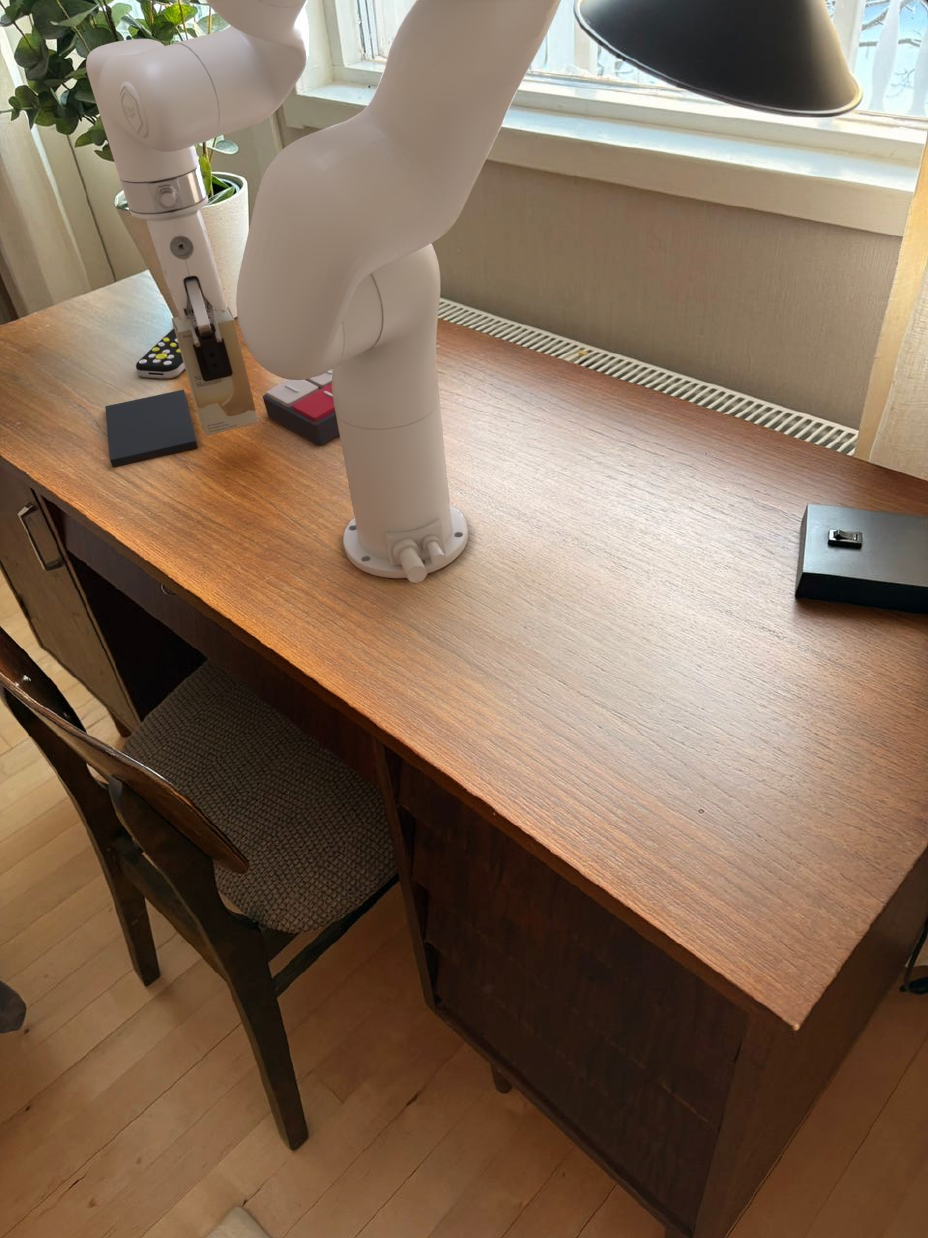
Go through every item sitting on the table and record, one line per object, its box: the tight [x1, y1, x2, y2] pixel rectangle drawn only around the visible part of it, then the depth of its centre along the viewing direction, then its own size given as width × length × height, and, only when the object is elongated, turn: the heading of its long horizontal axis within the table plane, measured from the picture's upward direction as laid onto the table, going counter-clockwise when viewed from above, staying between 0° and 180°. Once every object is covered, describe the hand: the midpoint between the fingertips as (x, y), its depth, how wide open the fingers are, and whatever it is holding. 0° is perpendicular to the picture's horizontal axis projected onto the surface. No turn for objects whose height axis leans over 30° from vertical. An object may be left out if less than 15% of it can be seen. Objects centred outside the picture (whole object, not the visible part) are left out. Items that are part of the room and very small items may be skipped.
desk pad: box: [104, 389, 199, 468], centre depth 116 cm, size 14×10×1 cm
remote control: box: [135, 328, 186, 380], centre depth 130 cm, size 6×13×2 cm, turn 166°
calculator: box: [262, 369, 340, 446], centre depth 116 cm, size 11×4×15 cm
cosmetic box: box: [171, 306, 259, 436], centre depth 103 cm, size 6×4×12 cm
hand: (214, 366), depth 102 cm, fingers closed on cosmetic box, 4 cm apart
